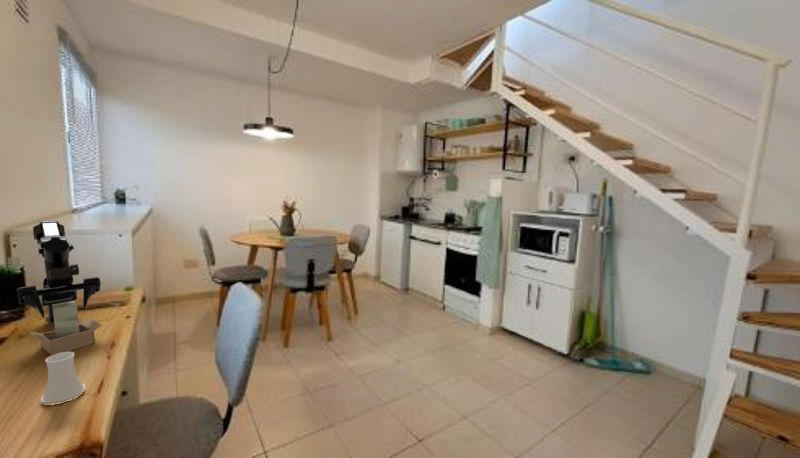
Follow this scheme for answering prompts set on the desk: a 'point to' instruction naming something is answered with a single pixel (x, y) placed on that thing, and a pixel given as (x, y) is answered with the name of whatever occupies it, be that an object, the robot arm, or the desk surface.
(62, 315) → the box
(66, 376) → the vase
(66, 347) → the carton
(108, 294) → the desk surface
